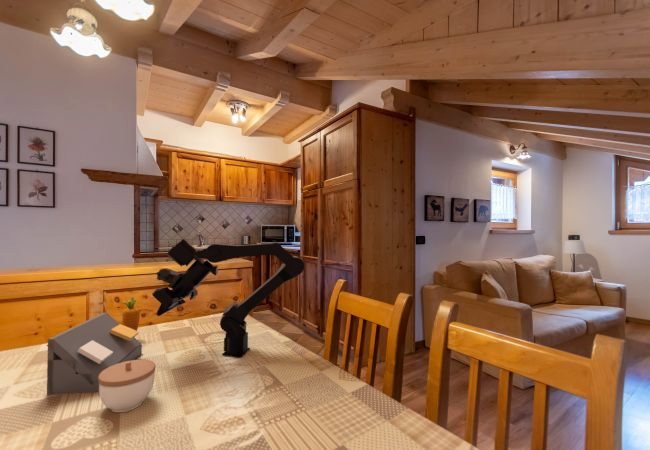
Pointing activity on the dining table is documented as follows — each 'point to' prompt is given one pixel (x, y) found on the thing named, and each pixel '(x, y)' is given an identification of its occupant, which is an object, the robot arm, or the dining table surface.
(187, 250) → the robot arm
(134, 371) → the lidded jar
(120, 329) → the block
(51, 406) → the dining table surface
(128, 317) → the carrot
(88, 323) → the switch console
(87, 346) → the block
